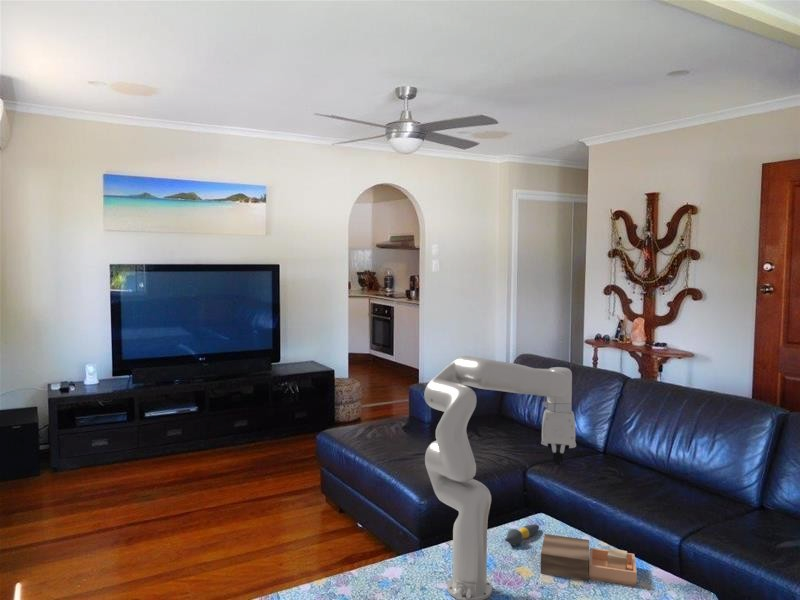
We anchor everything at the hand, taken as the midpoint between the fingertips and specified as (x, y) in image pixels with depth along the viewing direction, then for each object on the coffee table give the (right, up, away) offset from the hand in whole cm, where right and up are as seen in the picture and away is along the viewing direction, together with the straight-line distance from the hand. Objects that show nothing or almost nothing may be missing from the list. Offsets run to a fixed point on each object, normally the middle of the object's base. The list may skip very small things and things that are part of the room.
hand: (558, 464), depth 190 cm
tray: (+13, -30, -10) cm, 34 cm away
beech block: (+15, -26, -10) cm, 32 cm away
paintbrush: (-9, -29, +13) cm, 33 cm away
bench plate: (+1, -30, -6) cm, 30 cm away
